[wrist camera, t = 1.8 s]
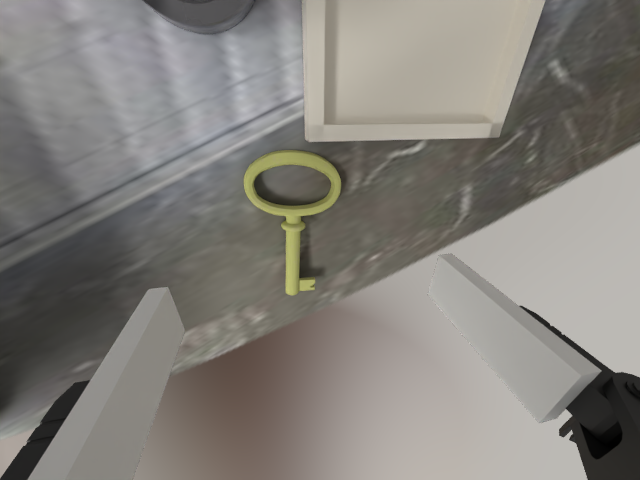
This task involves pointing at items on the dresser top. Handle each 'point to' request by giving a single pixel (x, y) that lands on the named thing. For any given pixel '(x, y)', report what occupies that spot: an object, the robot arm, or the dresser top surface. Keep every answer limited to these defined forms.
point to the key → (293, 213)
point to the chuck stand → (202, 13)
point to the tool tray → (412, 67)
